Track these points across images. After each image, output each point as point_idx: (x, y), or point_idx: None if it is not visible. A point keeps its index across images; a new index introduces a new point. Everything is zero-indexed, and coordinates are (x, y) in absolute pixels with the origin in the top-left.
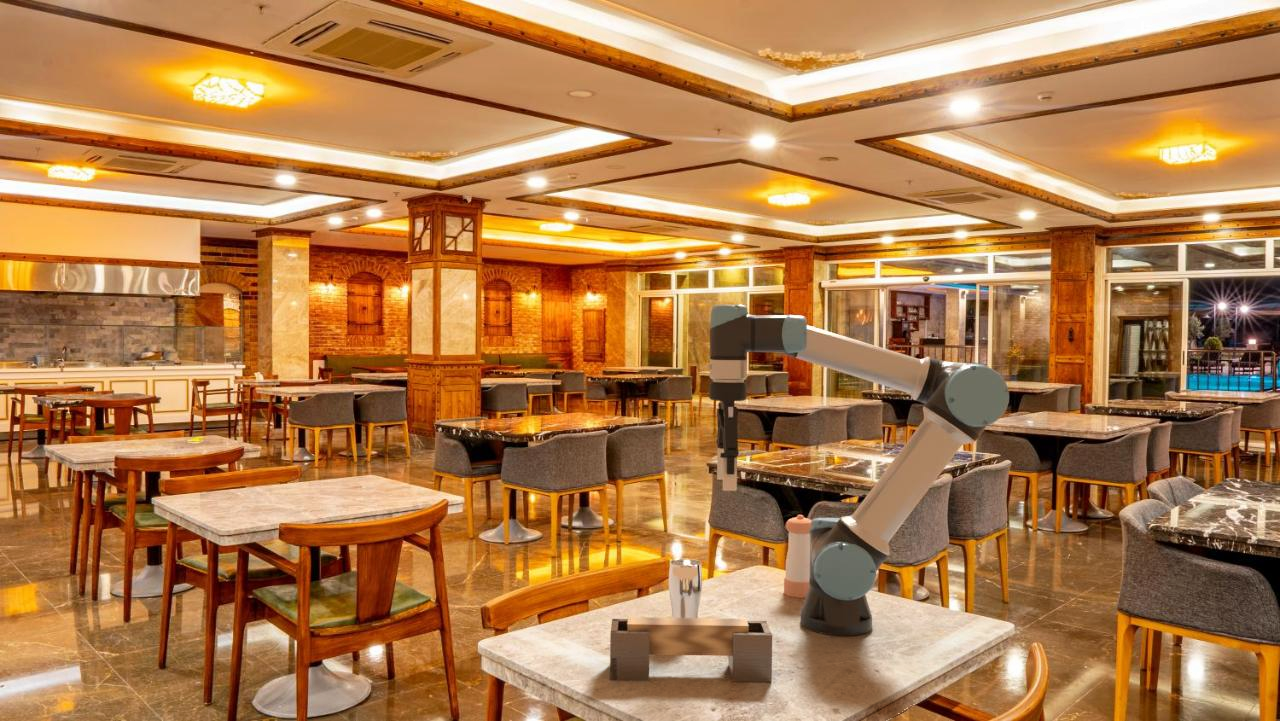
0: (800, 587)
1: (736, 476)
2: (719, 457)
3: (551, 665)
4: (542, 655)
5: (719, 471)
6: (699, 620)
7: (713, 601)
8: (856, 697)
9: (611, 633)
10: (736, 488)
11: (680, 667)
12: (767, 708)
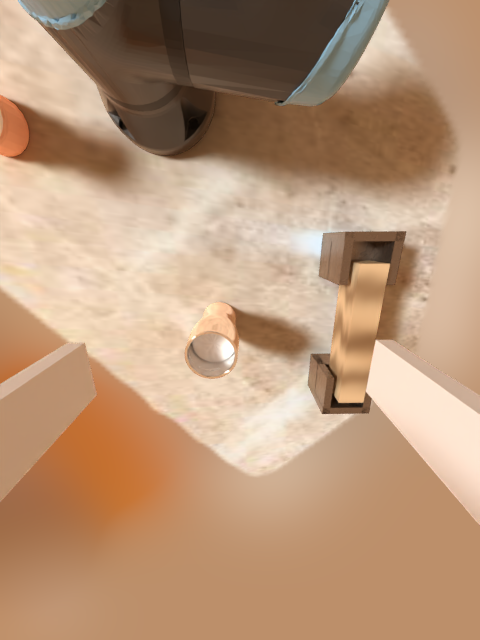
0: (13, 121)
1: (443, 375)
2: (2, 486)
3: (309, 428)
4: (285, 437)
5: (71, 412)
6: (360, 326)
7: (85, 276)
8: (428, 133)
9: (368, 412)
10: (399, 344)
11: (321, 325)
12: (434, 247)
